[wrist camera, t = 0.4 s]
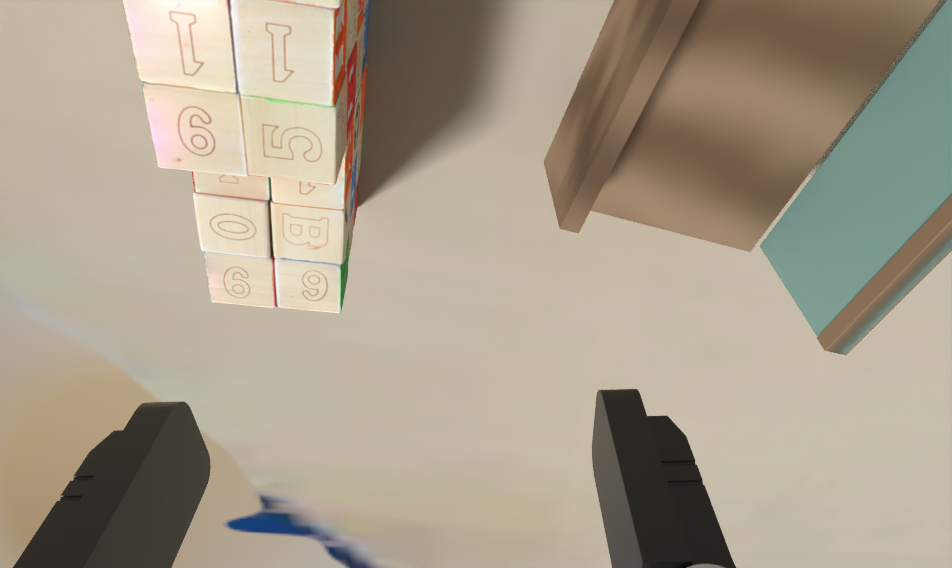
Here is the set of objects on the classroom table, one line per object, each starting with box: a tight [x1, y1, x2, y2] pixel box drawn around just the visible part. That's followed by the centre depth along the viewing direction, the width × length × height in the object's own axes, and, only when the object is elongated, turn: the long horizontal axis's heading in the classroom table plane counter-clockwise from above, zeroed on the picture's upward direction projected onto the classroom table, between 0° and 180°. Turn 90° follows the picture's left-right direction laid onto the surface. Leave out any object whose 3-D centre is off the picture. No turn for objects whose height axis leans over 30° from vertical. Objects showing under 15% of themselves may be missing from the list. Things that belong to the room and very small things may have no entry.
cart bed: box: [544, 0, 939, 252], centre depth 27 cm, size 22×12×6 cm, turn 162°
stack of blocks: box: [122, 0, 370, 313], centre depth 25 cm, size 21×6×12 cm, turn 170°
